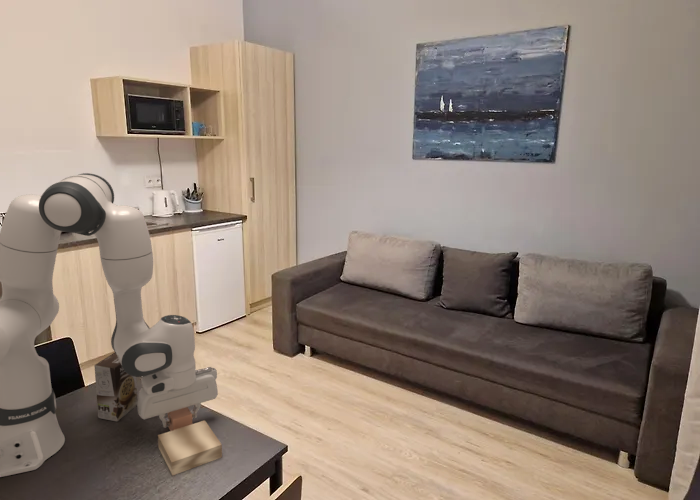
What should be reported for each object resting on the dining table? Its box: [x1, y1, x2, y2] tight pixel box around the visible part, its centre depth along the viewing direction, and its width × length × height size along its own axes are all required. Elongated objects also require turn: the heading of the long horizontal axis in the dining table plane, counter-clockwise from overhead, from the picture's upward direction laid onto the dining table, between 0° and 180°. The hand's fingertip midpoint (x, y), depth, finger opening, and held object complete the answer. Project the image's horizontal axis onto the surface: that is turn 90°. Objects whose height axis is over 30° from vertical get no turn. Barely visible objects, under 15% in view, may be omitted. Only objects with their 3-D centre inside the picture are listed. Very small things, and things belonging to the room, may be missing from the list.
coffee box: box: [94, 352, 138, 422], centre depth 132 cm, size 9×6×16 cm
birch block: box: [157, 419, 223, 476], centre depth 118 cm, size 12×12×4 cm
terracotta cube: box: [167, 407, 194, 431], centre depth 127 cm, size 5×5×5 cm
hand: (180, 421), depth 127 cm, fingers open, 6 cm apart
